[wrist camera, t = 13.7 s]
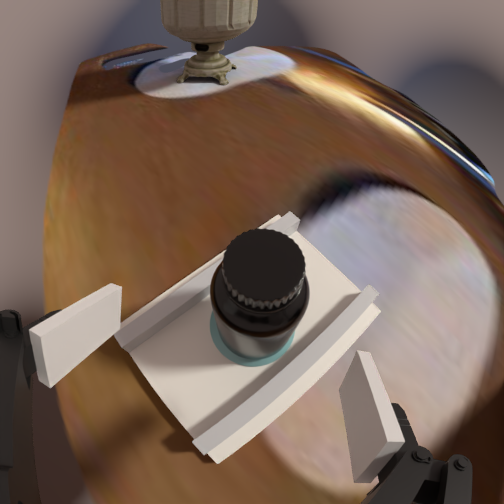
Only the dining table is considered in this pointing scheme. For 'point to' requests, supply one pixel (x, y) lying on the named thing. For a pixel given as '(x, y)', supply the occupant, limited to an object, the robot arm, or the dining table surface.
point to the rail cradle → (232, 366)
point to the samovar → (207, 31)
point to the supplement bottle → (259, 293)
